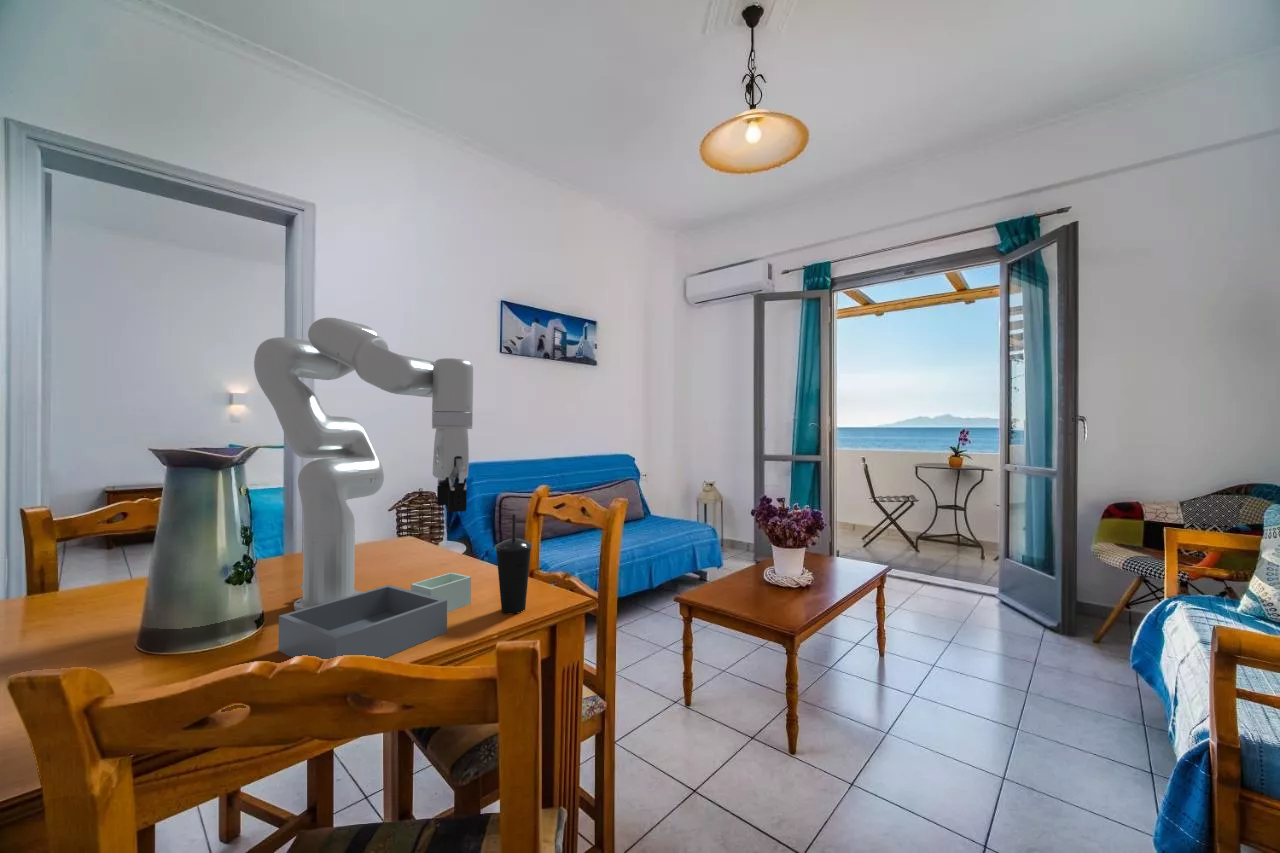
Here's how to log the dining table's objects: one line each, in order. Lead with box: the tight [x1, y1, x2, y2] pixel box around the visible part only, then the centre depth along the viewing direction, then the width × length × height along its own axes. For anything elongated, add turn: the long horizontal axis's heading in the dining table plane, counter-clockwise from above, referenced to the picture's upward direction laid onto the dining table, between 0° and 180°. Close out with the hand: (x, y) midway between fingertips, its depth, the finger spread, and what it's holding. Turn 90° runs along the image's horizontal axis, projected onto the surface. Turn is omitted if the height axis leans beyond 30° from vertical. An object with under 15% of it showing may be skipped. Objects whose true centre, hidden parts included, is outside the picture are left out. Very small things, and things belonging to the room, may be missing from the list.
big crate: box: [277, 584, 448, 659], centre depth 89 cm, size 18×20×6 cm
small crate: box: [410, 572, 472, 613], centre depth 106 cm, size 6×10×6 cm, turn 149°
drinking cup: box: [494, 514, 533, 614], centre depth 105 cm, size 8×8×20 cm
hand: (451, 507), depth 99 cm, fingers open, 9 cm apart
